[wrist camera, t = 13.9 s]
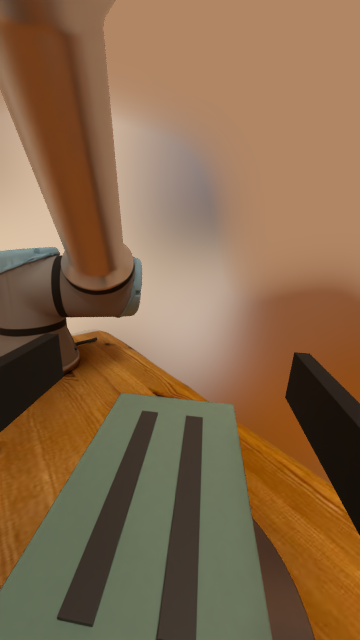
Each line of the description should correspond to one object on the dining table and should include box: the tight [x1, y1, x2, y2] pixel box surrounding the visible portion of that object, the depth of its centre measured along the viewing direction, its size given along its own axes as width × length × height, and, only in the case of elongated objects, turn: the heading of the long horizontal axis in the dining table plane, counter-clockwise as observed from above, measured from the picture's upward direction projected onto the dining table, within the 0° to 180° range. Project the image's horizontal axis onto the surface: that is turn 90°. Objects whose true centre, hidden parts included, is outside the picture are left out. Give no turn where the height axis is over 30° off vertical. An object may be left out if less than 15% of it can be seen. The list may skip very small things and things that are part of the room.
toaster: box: [0, 393, 315, 640], centre depth 13 cm, size 19×19×12 cm
